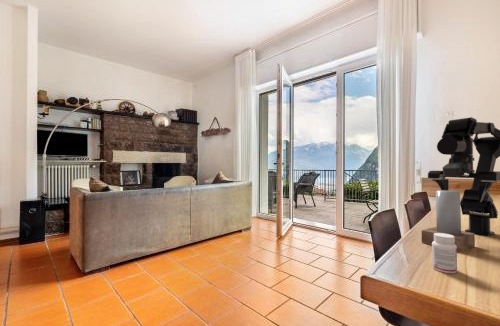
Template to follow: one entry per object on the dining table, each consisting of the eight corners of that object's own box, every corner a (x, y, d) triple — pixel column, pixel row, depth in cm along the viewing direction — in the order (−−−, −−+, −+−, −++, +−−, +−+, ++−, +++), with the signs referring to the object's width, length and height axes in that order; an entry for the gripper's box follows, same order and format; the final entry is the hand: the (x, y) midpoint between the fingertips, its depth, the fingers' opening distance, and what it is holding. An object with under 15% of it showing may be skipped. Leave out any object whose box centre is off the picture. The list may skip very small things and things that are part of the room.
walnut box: (437, 237, 84) (437, 226, 84) (474, 246, 75) (474, 233, 75) (421, 242, 79) (421, 230, 79) (459, 252, 70) (459, 238, 70)
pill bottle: (462, 274, 56) (461, 238, 56) (438, 273, 57) (438, 237, 57) (449, 266, 61) (449, 232, 61) (428, 264, 62) (427, 231, 62)
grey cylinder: (442, 229, 80) (440, 189, 81) (464, 233, 75) (463, 191, 75) (432, 231, 77) (431, 190, 78) (455, 236, 72) (454, 192, 72)
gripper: (419, 155, 88) (419, 198, 87) (488, 153, 71) (489, 206, 71) (435, 156, 93) (435, 196, 93) (502, 153, 76) (503, 203, 76)
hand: (462, 200), depth 83 cm, fingers open, 9 cm apart
